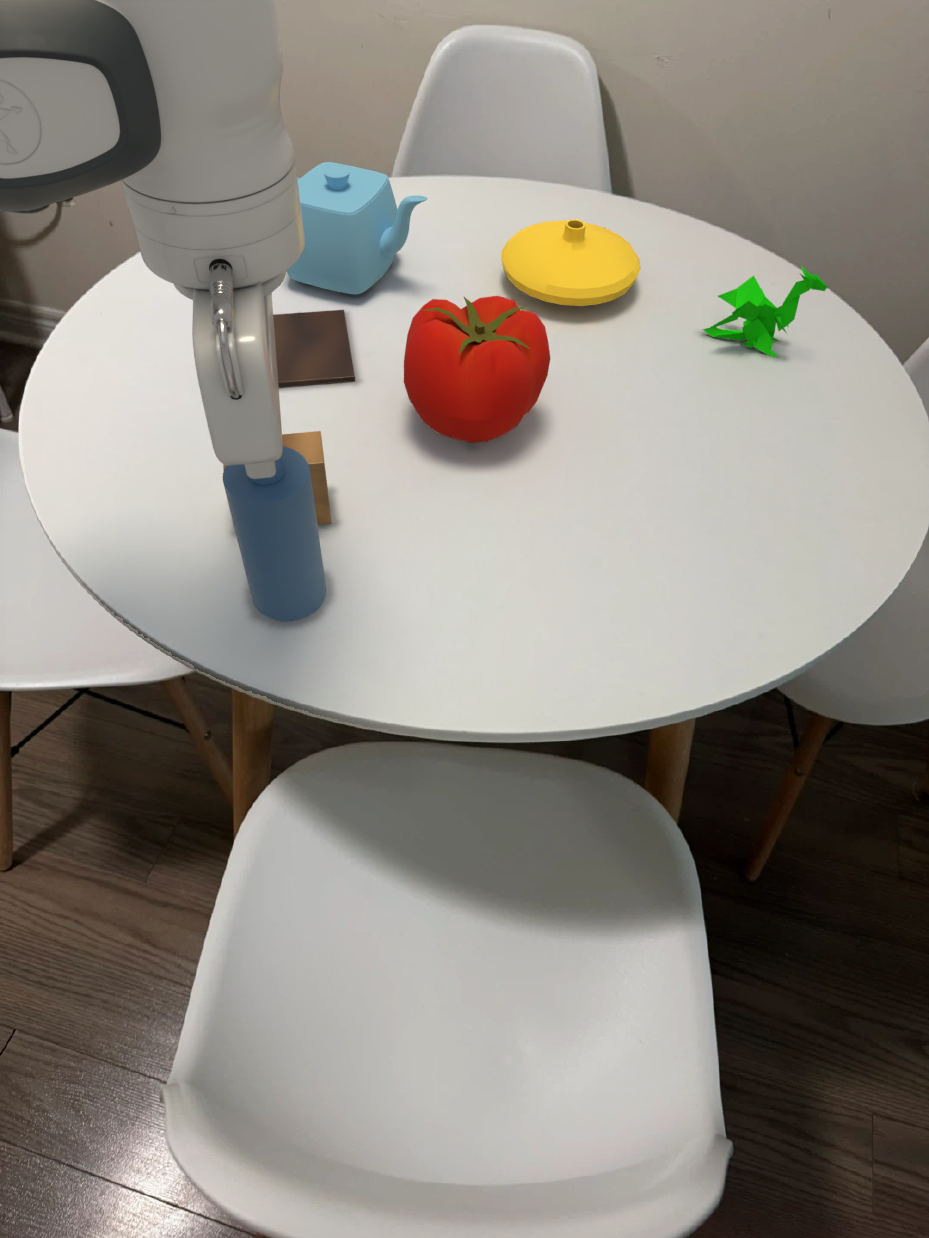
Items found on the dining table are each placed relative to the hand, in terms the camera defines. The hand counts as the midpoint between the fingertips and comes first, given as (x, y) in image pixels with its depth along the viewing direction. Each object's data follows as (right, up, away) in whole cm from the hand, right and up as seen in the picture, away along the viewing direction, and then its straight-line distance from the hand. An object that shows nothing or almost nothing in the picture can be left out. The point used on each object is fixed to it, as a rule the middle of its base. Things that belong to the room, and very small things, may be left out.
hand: (259, 422), depth 58 cm
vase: (+25, +26, +44) cm, 57 cm away
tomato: (+15, +7, +28) cm, 33 cm away
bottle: (-1, -7, +16) cm, 17 cm away
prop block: (-2, -4, +19) cm, 20 cm away
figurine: (+45, +17, +38) cm, 61 cm away
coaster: (-4, +15, +34) cm, 37 cm away
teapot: (+1, +27, +43) cm, 51 cm away
